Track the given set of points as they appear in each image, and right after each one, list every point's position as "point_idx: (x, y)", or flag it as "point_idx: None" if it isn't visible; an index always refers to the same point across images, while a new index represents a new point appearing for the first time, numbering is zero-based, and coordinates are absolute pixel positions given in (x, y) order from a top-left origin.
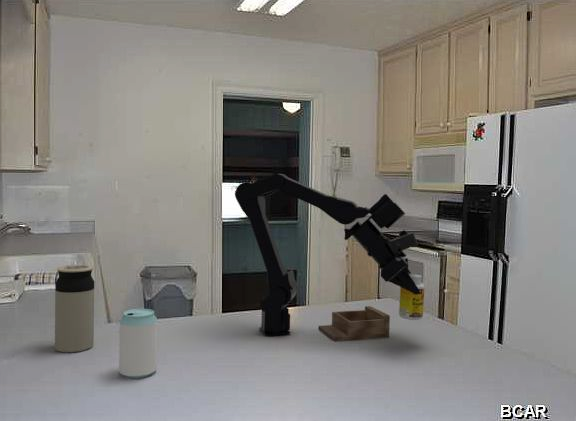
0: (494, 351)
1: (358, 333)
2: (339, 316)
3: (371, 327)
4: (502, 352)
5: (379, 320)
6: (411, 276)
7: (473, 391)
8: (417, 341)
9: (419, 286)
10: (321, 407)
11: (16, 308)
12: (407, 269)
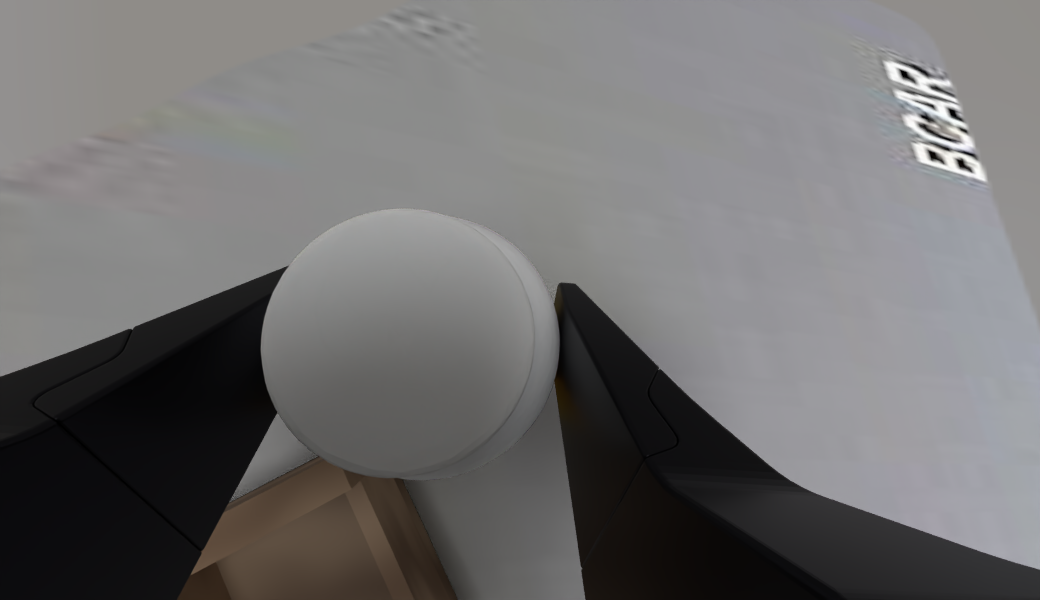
0: (478, 51)
1: (437, 584)
2: None
3: (403, 533)
4: (483, 28)
5: (372, 506)
6: (519, 374)
7: (858, 208)
8: None
9: (537, 276)
10: None
11: None
12: (907, 539)
